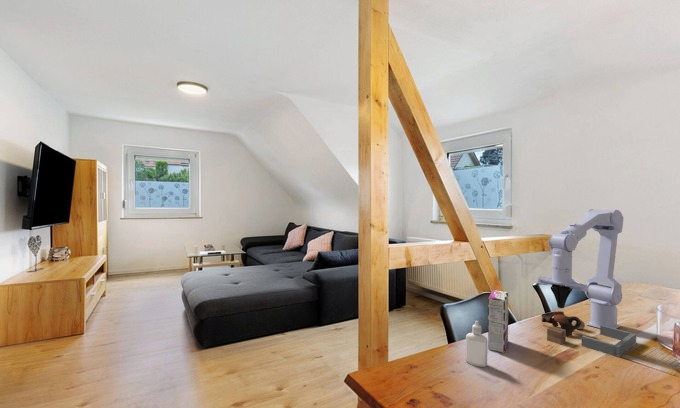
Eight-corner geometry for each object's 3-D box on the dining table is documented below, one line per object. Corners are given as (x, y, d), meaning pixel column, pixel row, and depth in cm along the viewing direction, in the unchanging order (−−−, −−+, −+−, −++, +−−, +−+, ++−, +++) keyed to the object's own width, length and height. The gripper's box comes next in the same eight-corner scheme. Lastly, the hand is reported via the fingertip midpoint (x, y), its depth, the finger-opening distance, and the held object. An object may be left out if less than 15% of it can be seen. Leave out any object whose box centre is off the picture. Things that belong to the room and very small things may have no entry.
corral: (601, 333, 116) (601, 325, 116) (636, 343, 108) (636, 333, 108) (581, 345, 106) (581, 336, 106) (618, 357, 98) (618, 347, 98)
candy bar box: (491, 337, 111) (492, 289, 111) (508, 341, 108) (509, 291, 108) (486, 349, 101) (487, 297, 101) (504, 354, 99) (505, 299, 99)
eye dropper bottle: (479, 369, 89) (480, 325, 89) (462, 360, 94) (463, 319, 94) (489, 366, 91) (490, 323, 91) (473, 357, 96) (474, 316, 96)
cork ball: (574, 326, 122) (575, 316, 122) (586, 329, 120) (586, 319, 120) (570, 328, 120) (571, 318, 120) (582, 331, 117) (582, 321, 117)
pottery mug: (548, 336, 114) (540, 312, 118) (545, 339, 121) (537, 316, 126) (588, 333, 110) (578, 307, 114) (582, 336, 117) (573, 312, 122)
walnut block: (552, 337, 112) (552, 326, 112) (565, 342, 108) (565, 330, 108) (547, 340, 109) (547, 328, 109) (560, 344, 106) (560, 332, 106)
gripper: (534, 265, 117) (533, 303, 117) (582, 273, 105) (581, 315, 105) (543, 264, 121) (542, 300, 121) (590, 271, 109) (589, 311, 109)
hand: (561, 307), depth 113 cm, fingers closed
